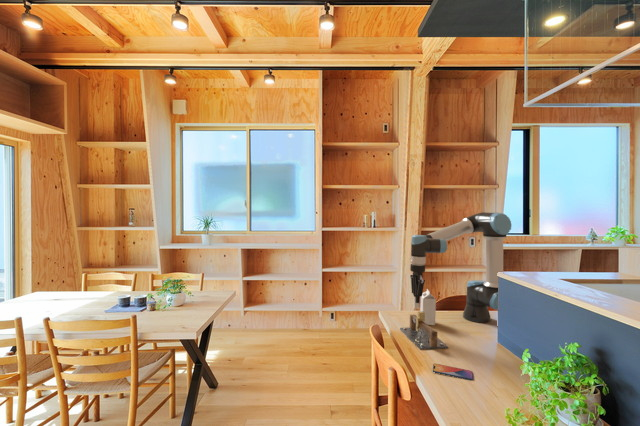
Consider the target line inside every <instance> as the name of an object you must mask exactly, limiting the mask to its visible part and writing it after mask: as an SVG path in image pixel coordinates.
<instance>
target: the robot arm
mask: <svg viewBox="0 0 640 426" xmlns="http://www.w3.org/2000/svg"><path fill="white" fill-rule="evenodd" d="M511 230H512V221H511V219H510V217H509V216H508V215H506V214H505V213H500V212H478V213H475V214H473V215H469V216H467V217H465V218H463V219H462V220H461V221H459V222H457V223H453V224H451V225H448V226H446V227H442V228H440V229H438V230H435V231H433V232H431V233H427V234H424V235H422V234H413V235H412V236H411V240H410V241H411V242H410V258H409V260H410V263H411V264H410V271H411V273H412V274H410V284H411V294H412V295H413V302H412V303H413V304H412V307H413V309H414V310H415V309H416V310H420V303H421V296H422V294H423V293H424V292H423V291H424V285H425V281H426V280H425V279H424V278H423V277H424V275H423V273H425V272H426V260H427V257H426V256H427V255H426V254H444V253H446V252H447V250H448V241H450V240H453V239H456V238H457V237H461V236H464V235H466V234H474V233H482V237H483V238H484V239H485V280H480V279H479V280H477V279H476V280H468V281H467V284H466V305H465V307H464V310H463V313H462V317H463V318H464V319H465V320H467V321H469V322H470V321H471V322H474V323H480V324H482V323H489V322H491V314H490V311H489V308H491V309H493V310H497V311H499V310H498V276H497V273H498V272H503V273H504V240H505V239H506V238H507V234H509V233H510V231H511Z"/></svg>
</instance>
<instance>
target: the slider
mask: <svg viewBox="0 0 640 426" xmlns="http://www.w3.org/2000/svg"><path fill="white" fill-rule="evenodd" d="M419 321H425V312H420V311H417V317H416V331H417V332H419V328H420V334H422V327H421V326H419Z"/></svg>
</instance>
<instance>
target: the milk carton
mask: <svg viewBox="0 0 640 426" xmlns="http://www.w3.org/2000/svg"><path fill="white" fill-rule="evenodd" d="M436 305H437V299H436V298H435V296H434V295H432V293H431V292H430V290H429V289H428V288H426V291H424V292H423V293H422V296H421V297H420V302H419V312H425V321H423V322H424V323H426V324H427V325H428V326H436V312H437V311H436V309H437V306H436Z"/></svg>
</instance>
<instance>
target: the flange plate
mask: <svg viewBox="0 0 640 426" xmlns="http://www.w3.org/2000/svg"><path fill="white" fill-rule="evenodd" d="M399 330H400V331H401V332H402V334H404V335H405V337H407V338H408V339H409V340H410V341H411V342H412V343H413V344H414V345H415V346H416V347H417V348H418V349H419V350H439V349H441V350H442V349H448V348H449V346H448V345H447V344H446V343H444V342H443V340H441V339H440V338H439V337H437V347H431V346H430V345H429V333H428V332H427V331H425V330H424V329H423V328H422V334H420V328H419V332H417V331H416V329H411V328H410V326H408V327H406V326H405V327H400V328H399Z"/></svg>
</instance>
